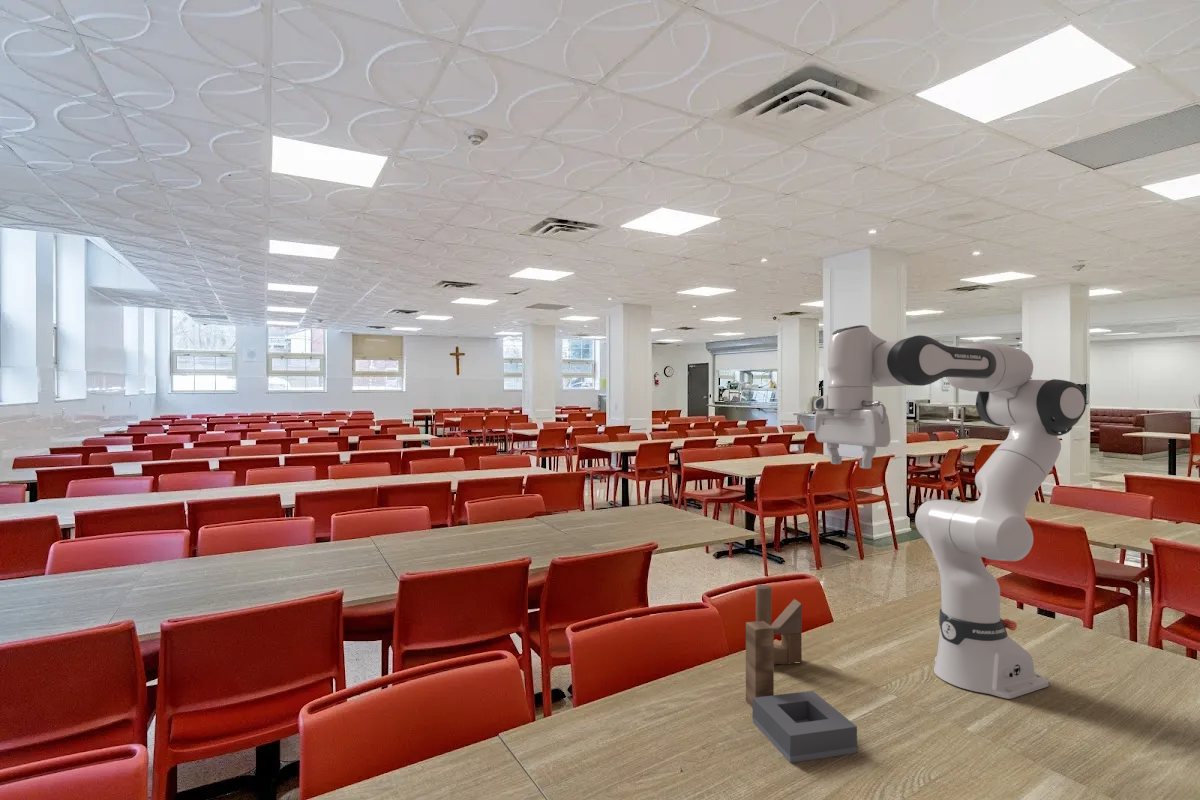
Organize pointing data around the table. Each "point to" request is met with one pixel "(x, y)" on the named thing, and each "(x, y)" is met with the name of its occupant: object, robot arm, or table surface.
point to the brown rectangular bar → (759, 660)
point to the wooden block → (782, 626)
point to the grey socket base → (804, 726)
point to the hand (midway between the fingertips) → (850, 466)
